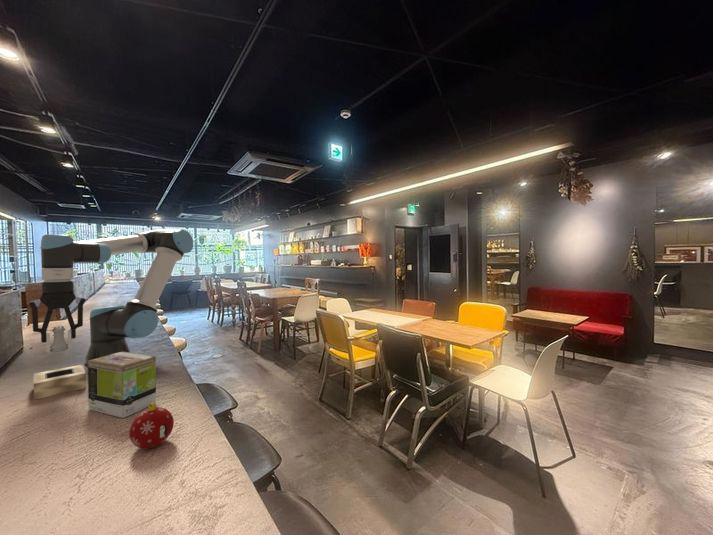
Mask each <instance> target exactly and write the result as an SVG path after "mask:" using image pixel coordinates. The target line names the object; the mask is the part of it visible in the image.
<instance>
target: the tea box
mask: <svg viewBox="0 0 713 535" xmlns="http://www.w3.org/2000/svg"><path fill="white" fill-rule="evenodd" d="M156 358H157V357H156V355H152V354H144V353H137V352H131V351H130V352H119V353H115V354H111V355H107V356H103V357H100V358H96V359H92V360H89V361H88V365H87V384H88V386H87V390H88V391H87V393H88V395H87V396H88V397H87V404H88V410H90V411H94V412H98V413H102V414H106V415H110V416H114V417H118V418H122V419H123V418H124V419H125V418H126V417H129V416H132V415H134V414H136V413H138V412H140V411H142V410H145V409H146V408H147V409H148V408H149V406H150V404H151V403H154V405H156V402H157V382H156V380H157V378H156V377H157V372H156V370H157V369H156V367H157V366H156V365H157V360H156Z"/></svg>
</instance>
